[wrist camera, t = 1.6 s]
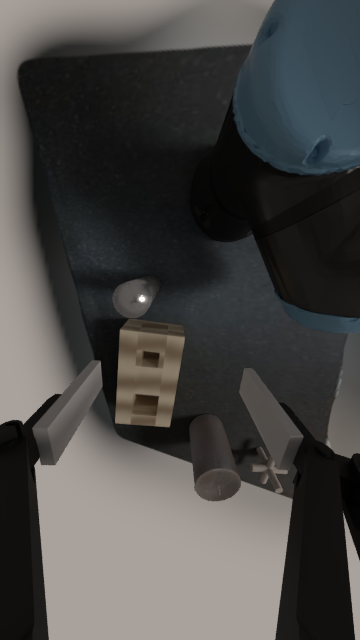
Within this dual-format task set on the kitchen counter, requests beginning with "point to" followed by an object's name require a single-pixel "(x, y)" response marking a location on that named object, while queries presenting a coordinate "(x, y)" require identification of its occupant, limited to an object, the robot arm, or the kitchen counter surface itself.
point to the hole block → (148, 372)
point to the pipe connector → (267, 470)
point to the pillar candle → (212, 459)
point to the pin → (136, 296)
